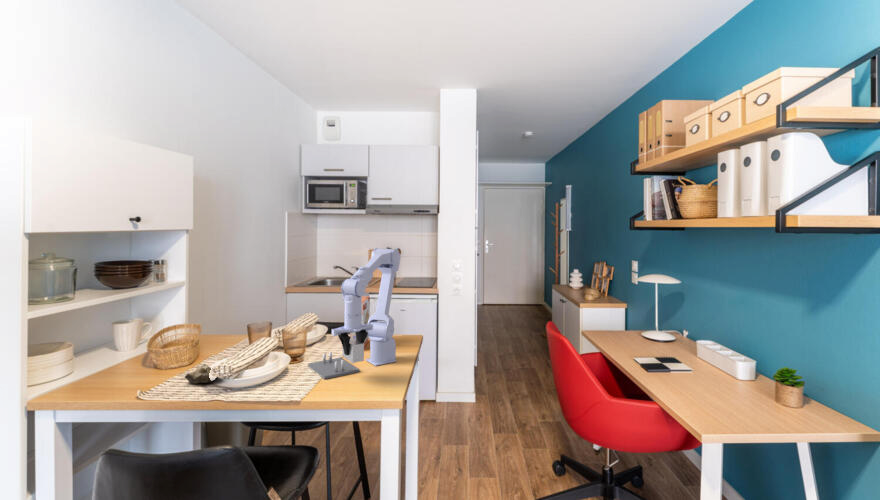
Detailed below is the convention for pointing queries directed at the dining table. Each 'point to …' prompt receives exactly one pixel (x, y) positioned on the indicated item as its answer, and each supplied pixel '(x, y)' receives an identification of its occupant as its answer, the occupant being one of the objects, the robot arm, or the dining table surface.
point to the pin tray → (333, 367)
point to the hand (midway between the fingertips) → (352, 353)
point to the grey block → (355, 351)
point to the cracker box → (364, 316)
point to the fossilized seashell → (199, 375)
